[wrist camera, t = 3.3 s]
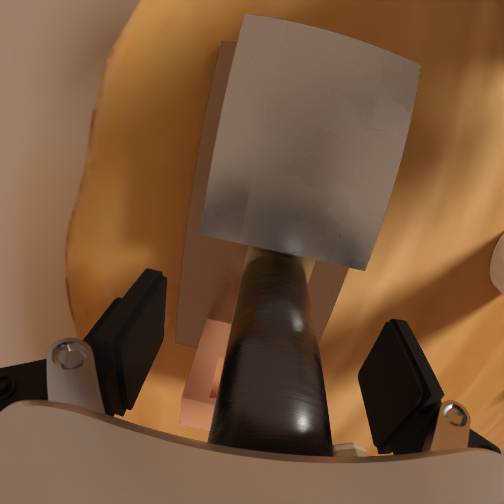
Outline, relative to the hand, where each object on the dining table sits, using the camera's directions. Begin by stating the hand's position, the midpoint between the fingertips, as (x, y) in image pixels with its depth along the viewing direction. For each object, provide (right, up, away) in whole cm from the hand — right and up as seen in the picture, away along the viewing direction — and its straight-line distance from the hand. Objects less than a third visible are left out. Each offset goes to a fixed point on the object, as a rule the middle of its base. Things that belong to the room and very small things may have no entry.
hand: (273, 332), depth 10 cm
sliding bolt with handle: (+1, +5, +5) cm, 7 cm away
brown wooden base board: (+1, +5, +11) cm, 12 cm away
